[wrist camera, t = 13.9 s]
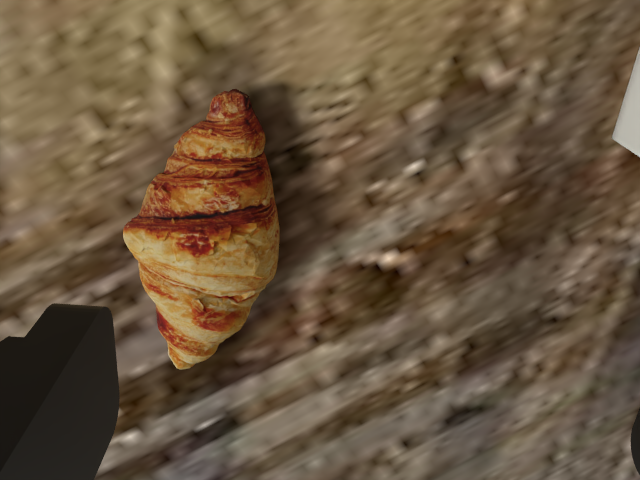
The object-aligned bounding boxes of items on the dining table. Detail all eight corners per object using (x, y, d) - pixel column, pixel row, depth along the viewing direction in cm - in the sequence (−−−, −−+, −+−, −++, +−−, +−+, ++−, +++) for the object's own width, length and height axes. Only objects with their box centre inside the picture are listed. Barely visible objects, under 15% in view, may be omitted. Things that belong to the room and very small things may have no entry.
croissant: (232, 333, 50) (270, 399, 44) (105, 347, 45) (128, 424, 40) (282, 79, 41) (338, 121, 35) (129, 62, 36) (164, 107, 30)
